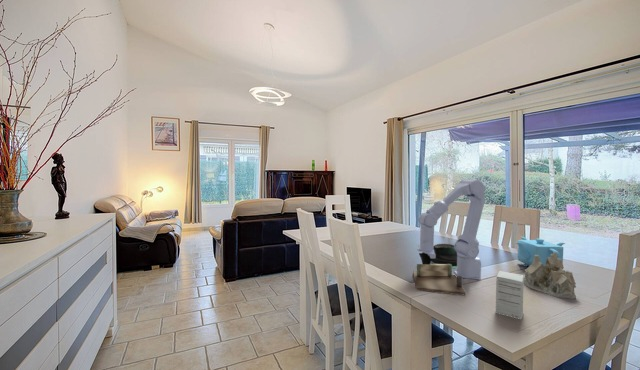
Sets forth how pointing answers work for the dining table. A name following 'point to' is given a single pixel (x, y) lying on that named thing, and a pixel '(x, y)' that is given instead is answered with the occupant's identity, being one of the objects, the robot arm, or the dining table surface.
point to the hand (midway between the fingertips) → (425, 269)
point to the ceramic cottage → (550, 277)
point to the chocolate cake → (445, 255)
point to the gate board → (439, 283)
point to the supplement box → (509, 294)
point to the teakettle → (537, 250)
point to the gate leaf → (434, 270)
